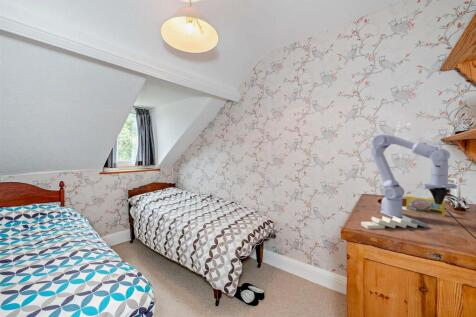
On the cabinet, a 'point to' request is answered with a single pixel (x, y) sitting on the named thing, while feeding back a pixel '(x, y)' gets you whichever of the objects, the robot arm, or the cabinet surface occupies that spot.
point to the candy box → (425, 205)
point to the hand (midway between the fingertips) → (438, 204)
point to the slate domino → (414, 221)
